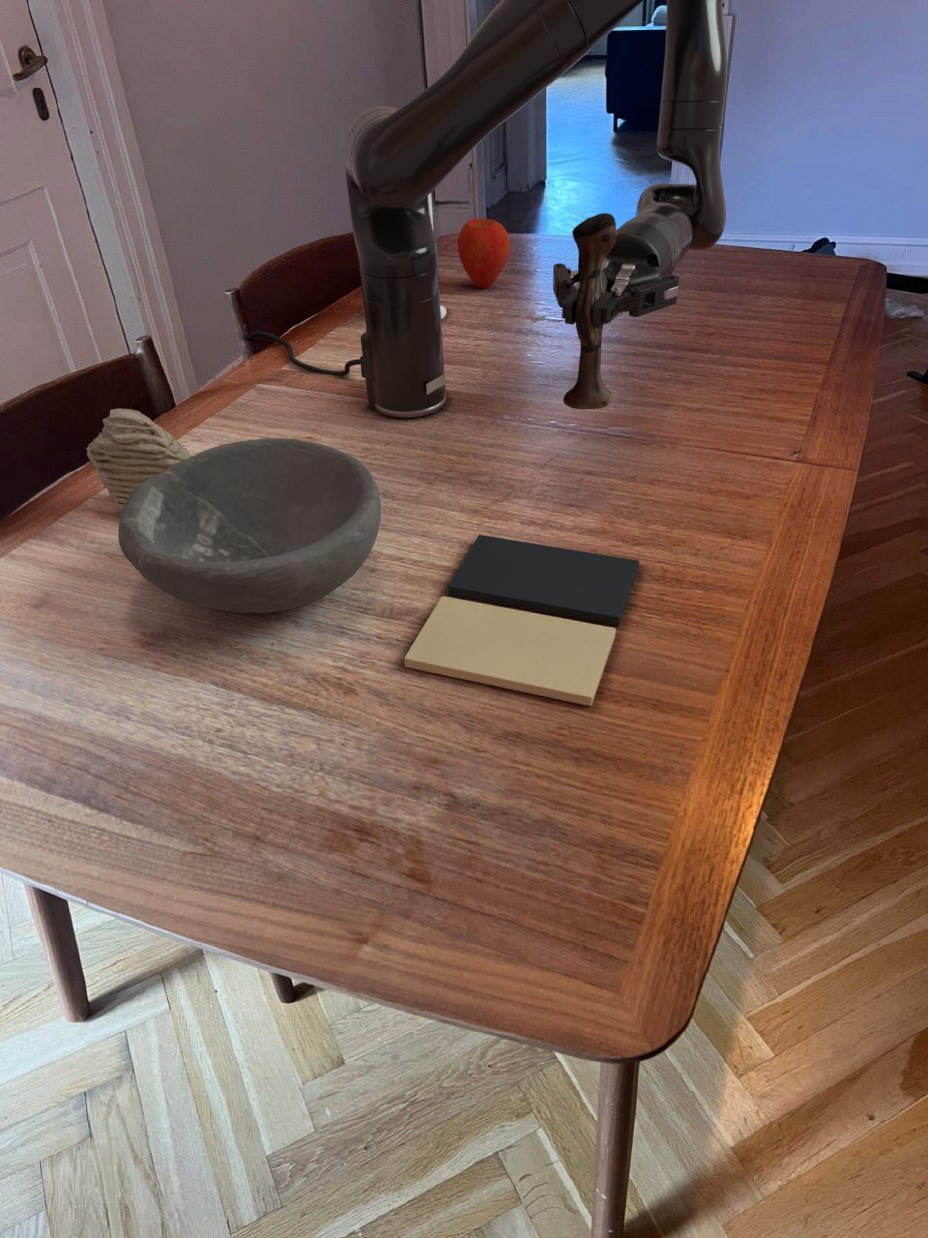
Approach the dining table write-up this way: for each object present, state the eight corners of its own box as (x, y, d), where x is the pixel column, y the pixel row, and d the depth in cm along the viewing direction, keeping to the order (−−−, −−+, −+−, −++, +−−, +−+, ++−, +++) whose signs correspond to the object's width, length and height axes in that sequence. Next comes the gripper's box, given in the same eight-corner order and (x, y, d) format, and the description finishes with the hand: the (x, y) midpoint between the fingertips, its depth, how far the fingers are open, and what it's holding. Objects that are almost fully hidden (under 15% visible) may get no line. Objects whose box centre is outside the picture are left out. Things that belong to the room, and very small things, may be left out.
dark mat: (448, 594, 82) (447, 586, 81) (479, 542, 89) (479, 534, 88) (618, 626, 77) (619, 617, 77) (638, 568, 84) (639, 560, 83)
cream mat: (404, 667, 74) (403, 658, 74) (442, 604, 81) (441, 595, 80) (591, 706, 70) (591, 697, 69) (615, 636, 76) (616, 627, 76)
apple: (519, 282, 149) (519, 214, 142) (493, 298, 144) (492, 227, 137) (476, 275, 153) (474, 208, 146) (449, 290, 148) (445, 221, 141)
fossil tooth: (212, 540, 93) (88, 511, 96) (240, 507, 98) (120, 480, 100) (193, 446, 85) (58, 417, 88) (225, 414, 90) (95, 388, 93)
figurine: (600, 421, 87) (611, 228, 76) (551, 414, 89) (555, 225, 77) (619, 389, 92) (632, 205, 81) (572, 383, 94) (579, 202, 82)
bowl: (280, 695, 72) (257, 598, 66) (97, 612, 82) (61, 520, 76) (435, 554, 87) (428, 463, 81) (264, 497, 97) (246, 413, 91)
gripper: (577, 216, 94) (513, 266, 82) (708, 227, 89) (659, 282, 77) (575, 287, 99) (514, 345, 87) (698, 301, 94) (651, 364, 82)
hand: (582, 315), depth 82 cm, fingers closed on figurine
